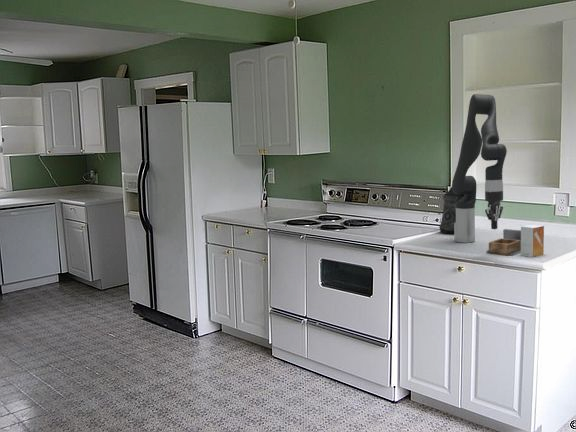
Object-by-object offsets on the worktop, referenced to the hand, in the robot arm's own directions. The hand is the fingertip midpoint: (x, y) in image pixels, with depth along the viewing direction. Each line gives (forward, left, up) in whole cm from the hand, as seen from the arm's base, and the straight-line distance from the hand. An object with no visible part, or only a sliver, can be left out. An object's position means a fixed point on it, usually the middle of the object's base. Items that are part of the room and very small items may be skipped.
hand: (494, 228), depth 260 cm
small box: (+12, +12, -13) cm, 21 cm away
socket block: (0, +11, -12) cm, 17 cm away
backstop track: (0, +15, -13) cm, 20 cm away
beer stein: (-44, +46, -13) cm, 65 cm away
